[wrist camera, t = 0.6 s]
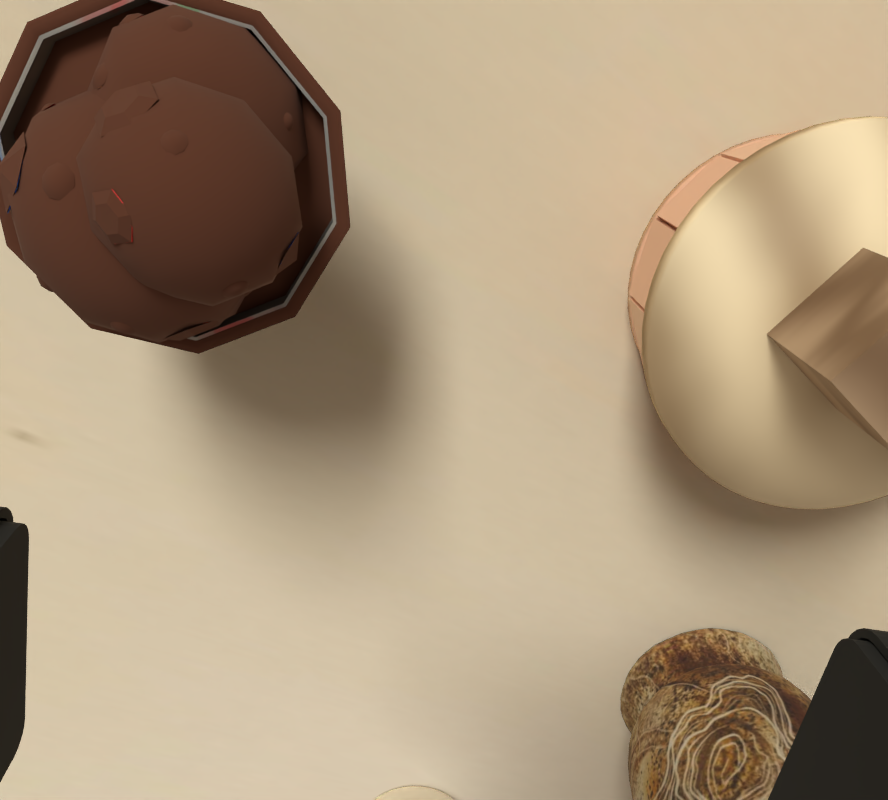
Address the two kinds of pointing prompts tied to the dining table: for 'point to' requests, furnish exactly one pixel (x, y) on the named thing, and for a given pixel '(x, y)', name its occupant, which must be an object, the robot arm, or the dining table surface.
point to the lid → (781, 322)
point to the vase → (709, 718)
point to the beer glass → (414, 794)
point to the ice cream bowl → (169, 168)
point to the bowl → (678, 223)
